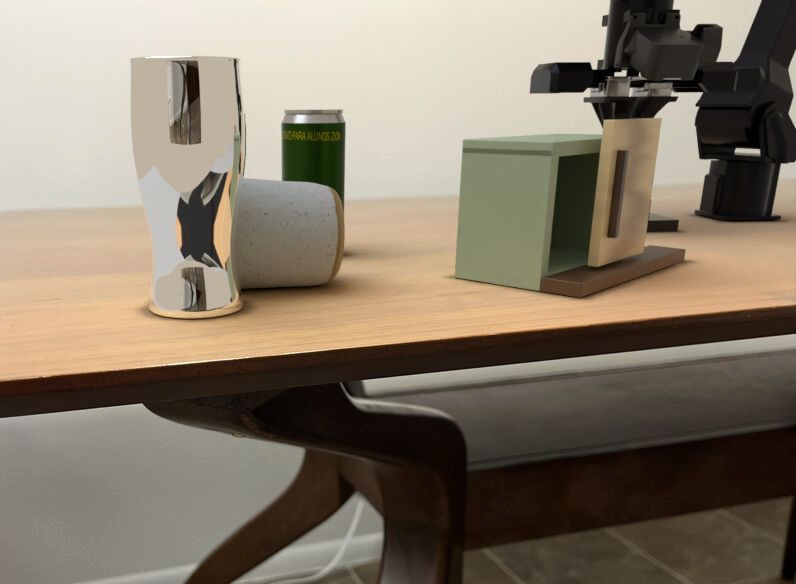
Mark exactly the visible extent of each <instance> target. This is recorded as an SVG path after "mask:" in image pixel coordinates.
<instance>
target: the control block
mask: <svg viewBox="0 0 796 584" xmlns="http://www.w3.org/2000/svg"><path fill="white" fill-rule="evenodd" d="M651 206H652V201H651V202H650V209H649V216H648V224H647V231H646V233H678V229H679V223H680V220H679V219H676V218H673V217H668V216H664V215H660V214H655V213H652V212H651Z"/></svg>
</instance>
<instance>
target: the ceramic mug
mask: <svg viewBox="0 0 796 584" xmlns="http://www.w3.org/2000/svg"><path fill="white" fill-rule="evenodd" d="M345 227H346V225H345V211H344V212H343V207H342V202H341V199H340V197H339V195H338V194H337V192H336V191H335V190H334V189H333V188H331V187H328V186H325V185H320V184H316V183H310V182H293V181H282V180H278V179H277V180H276V179H275V180H273V179H263V178H248V177H244V181H243V188H242V195H241V202H240V209H239V216H238V223H237V231H236V248H235V253H236V266H237V273H238V278H239V282H240V287H241V290H242V289H245V290H247V289H268V288H288V287H289V288H291V287H313V286H319V285H324V284H327V283H329V282H331V281H333V280H334V279H335V277H336V276H337V275H338V273H339V271H340V269H341V267H342V262H343V257H344V250H345V240H346V239H345V238H346V237H345V232H346V231H345Z"/></svg>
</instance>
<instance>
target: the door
mask: <svg viewBox="0 0 796 584" xmlns="http://www.w3.org/2000/svg"><path fill="white" fill-rule="evenodd" d="M662 121H663V118H662V117H654V118H640V119H615V120H604V123H603V129H602V133H601V135H602V141H601V150H600V159H599V167H598V176H597V185H596V194H595V202H594V211H593V220H592V229H591V238H590V246H589V255H588V264H587V266H593V267H599V266H602V265H606V264H609V263H612V262H615V261H619V260H622V259H625V258H628V257H631V256H635V255H638V254H641V253H644V247H646V246H645V245H646V238H647V232H646V231H647V224H648V216H649V209H650V210H651V207H650V202H651V203H652V193H653V186H654V179H655V171H656V165H657V158H658V157H657V156H658V150H659V143H660V142H659V141H660V135H661V129H662Z"/></svg>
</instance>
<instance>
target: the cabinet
mask: <svg viewBox="0 0 796 584" xmlns="http://www.w3.org/2000/svg"><path fill="white" fill-rule="evenodd" d="M601 141H602V134H598V133H597V134H594V133H593V134H589V133H588V134H587V133H547V134H546V133H545V134H530V135H528V134H527V135H513V136H496V137H481V138H479V137H478V138H464V139H462V149H461V150H462V151H461V164H460V165H461V166H460V181H459V182H460V183H459V198H458V200H459V201H458V216H457V231H456V247H455V263H454V265H455V266H454V278H455V279H462V280H468V281H474V282H480V283H486V284H493V285H500V286H505V287H511V288H517V289H524V290H529V291H536V292H542V293H548V294H554V295H561V296H566V297H572V298H579V299H581V298H584V297H586V296H588V295H592V294H595V293H597V292H600V291H602V290H603V291H604V290H606V289H608V288H612V287H614V286H617V285H620V284H623V283H626V282H628V281H629V282H630V281H631V280H635V279H637V278H641V277H642V276H645V275H649V274H651V273H654V272H656V271H660V270H662V269H663V270H664V268H668V267H671V266H674V265H677V264H680V263H683V262H685V258H686V251H687V250H686V249H685V248H679V247H678V248H677V247H671V246H670V247H669V246H660V245H646V246H644V253H641V254H638V255H635V256H631V257H628V258H625V259H622V260H619V261H615V262H612V263H609V264H606V265H602V266H599V267H593V266H587V264H588V255H589V246H590V238H591V229H592V220H593V211H594V202H595V194H596V185H597V176H598V167H599V159H600V150H601Z"/></svg>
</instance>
